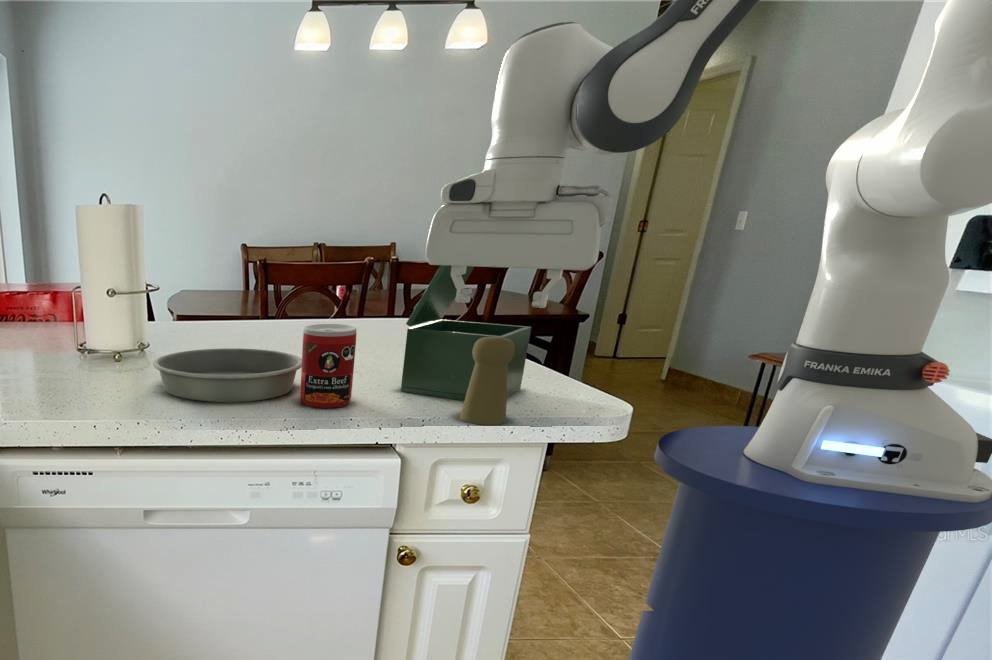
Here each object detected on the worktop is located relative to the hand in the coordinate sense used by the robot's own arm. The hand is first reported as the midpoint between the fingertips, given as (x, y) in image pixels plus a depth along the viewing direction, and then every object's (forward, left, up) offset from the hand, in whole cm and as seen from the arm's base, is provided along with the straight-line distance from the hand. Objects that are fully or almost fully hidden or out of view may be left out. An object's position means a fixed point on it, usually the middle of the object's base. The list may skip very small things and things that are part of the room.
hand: (499, 304), depth 92 cm
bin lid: (+12, -15, +2) cm, 19 cm away
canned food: (+22, +5, -15) cm, 27 cm away
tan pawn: (0, 0, -15) cm, 15 cm away
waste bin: (+9, -15, -15) cm, 23 cm away
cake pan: (+40, +6, -15) cm, 43 cm away
